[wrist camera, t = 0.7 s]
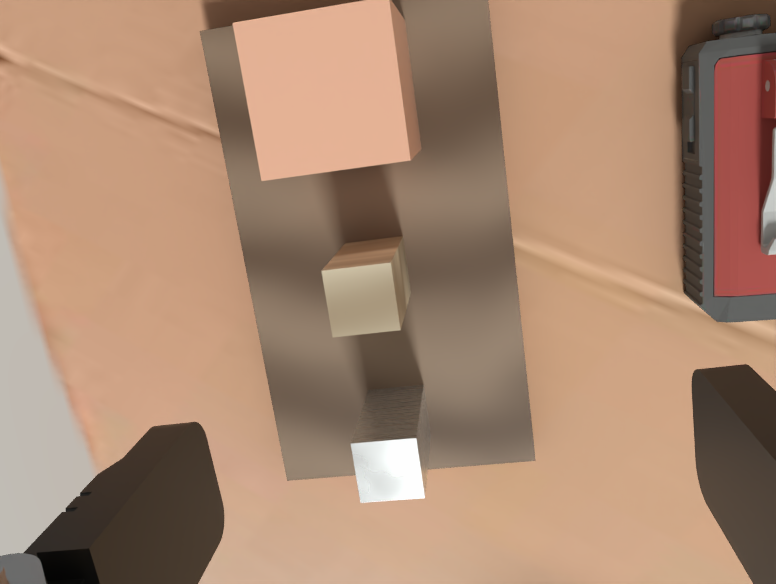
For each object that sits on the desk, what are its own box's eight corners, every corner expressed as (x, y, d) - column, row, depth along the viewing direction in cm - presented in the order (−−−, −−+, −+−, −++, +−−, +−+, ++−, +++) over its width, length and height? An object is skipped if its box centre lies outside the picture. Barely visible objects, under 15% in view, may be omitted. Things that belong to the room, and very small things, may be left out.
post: (368, 389, 33) (350, 443, 28) (423, 384, 33) (416, 438, 28) (376, 440, 34) (360, 502, 29) (430, 435, 34) (424, 497, 28)
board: (211, 34, 31) (143, 15, 25) (485, -12, 30) (491, -46, 23) (294, 465, 36) (255, 547, 30) (532, 446, 35) (549, 527, 28)
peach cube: (281, 40, 30) (232, 22, 23) (404, 20, 29) (388, -4, 23) (302, 165, 31) (261, 181, 25) (421, 149, 30) (410, 160, 24)
